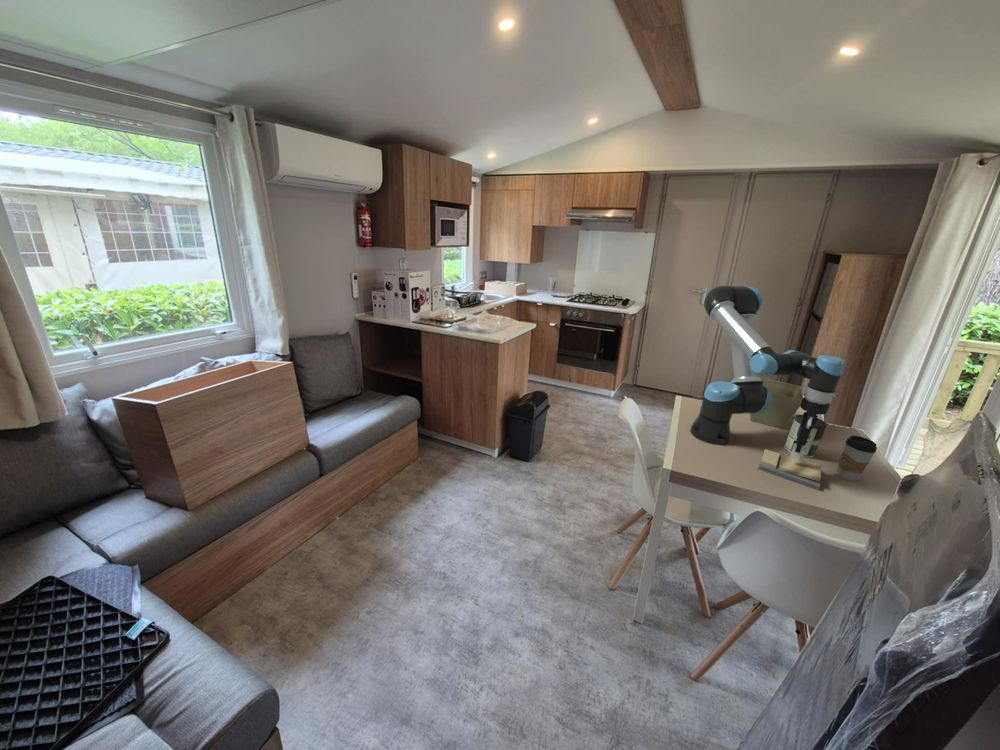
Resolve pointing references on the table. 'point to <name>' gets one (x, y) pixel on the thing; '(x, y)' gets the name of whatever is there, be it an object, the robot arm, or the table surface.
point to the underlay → (771, 465)
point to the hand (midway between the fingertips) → (794, 458)
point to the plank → (800, 468)
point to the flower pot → (779, 403)
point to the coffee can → (812, 440)
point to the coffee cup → (855, 457)
